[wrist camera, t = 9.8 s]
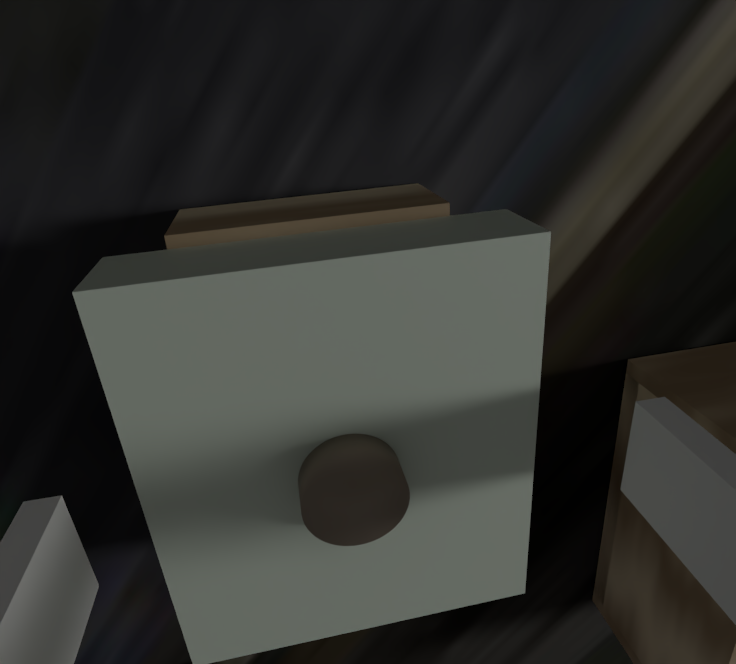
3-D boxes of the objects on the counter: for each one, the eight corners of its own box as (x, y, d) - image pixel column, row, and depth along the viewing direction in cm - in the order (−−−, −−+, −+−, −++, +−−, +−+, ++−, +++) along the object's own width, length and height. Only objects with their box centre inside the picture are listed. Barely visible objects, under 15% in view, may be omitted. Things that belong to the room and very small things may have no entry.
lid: (102, 257, 13) (54, 311, 10) (506, 209, 14) (575, 243, 11) (201, 596, 18) (189, 702, 15) (494, 535, 19) (540, 621, 16)
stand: (179, 209, 16) (163, 235, 13) (418, 183, 16) (449, 202, 14) (249, 526, 21) (248, 592, 18) (427, 491, 22) (452, 550, 19)
